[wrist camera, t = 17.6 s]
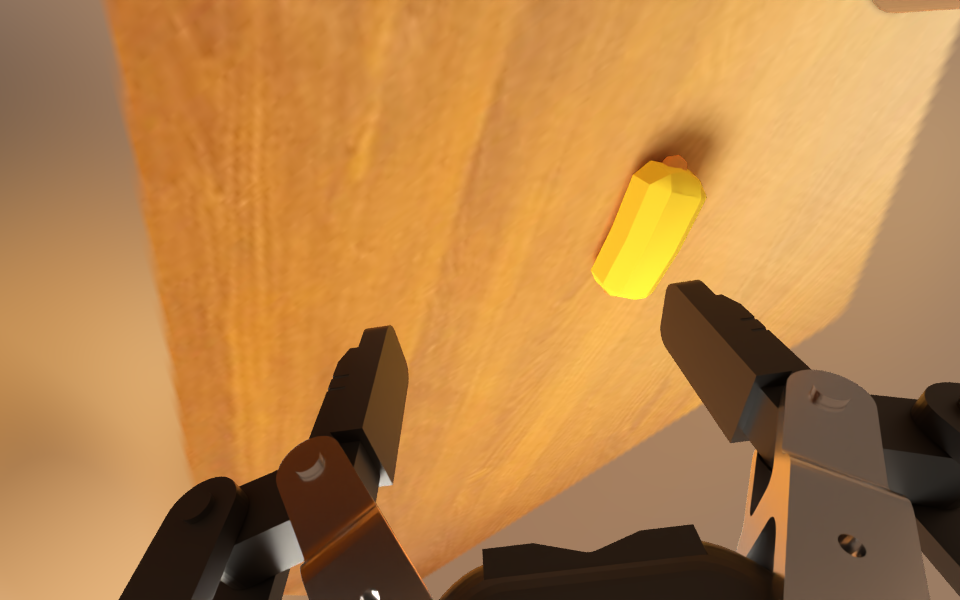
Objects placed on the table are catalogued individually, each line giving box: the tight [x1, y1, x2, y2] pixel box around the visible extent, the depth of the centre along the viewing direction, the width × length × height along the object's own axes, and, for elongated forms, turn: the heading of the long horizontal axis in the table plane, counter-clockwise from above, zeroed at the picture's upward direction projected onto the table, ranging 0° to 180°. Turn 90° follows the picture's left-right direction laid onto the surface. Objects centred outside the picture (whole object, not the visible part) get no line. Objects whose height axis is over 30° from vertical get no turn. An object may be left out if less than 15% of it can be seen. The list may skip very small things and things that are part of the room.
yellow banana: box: [591, 155, 707, 300], centre depth 43 cm, size 18×7×8 cm
